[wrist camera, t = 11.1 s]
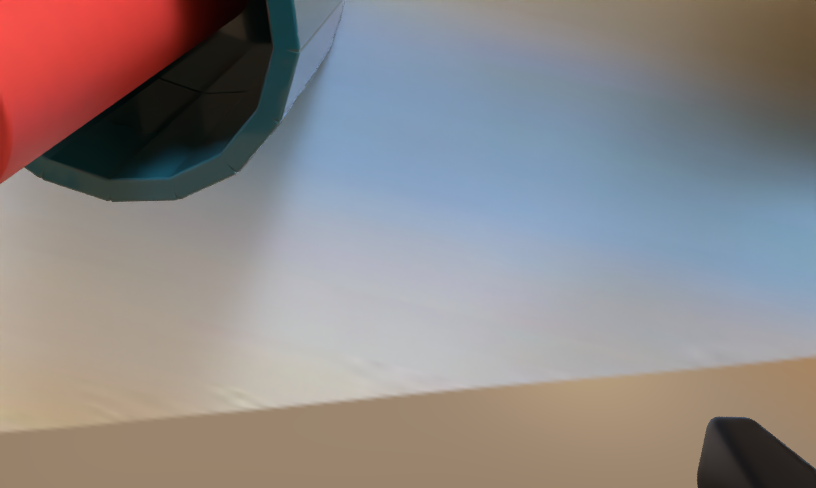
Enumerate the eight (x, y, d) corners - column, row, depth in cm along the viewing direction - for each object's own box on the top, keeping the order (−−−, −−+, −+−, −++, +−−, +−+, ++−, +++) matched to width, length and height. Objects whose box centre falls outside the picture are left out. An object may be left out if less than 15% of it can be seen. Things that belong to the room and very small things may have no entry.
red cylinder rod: (246, -86, 17) (-36, -17, 7) (261, 22, 18) (39, 207, 8) (144, -80, 17) (-263, -4, 7) (166, 26, 18) (-160, 212, 9)
